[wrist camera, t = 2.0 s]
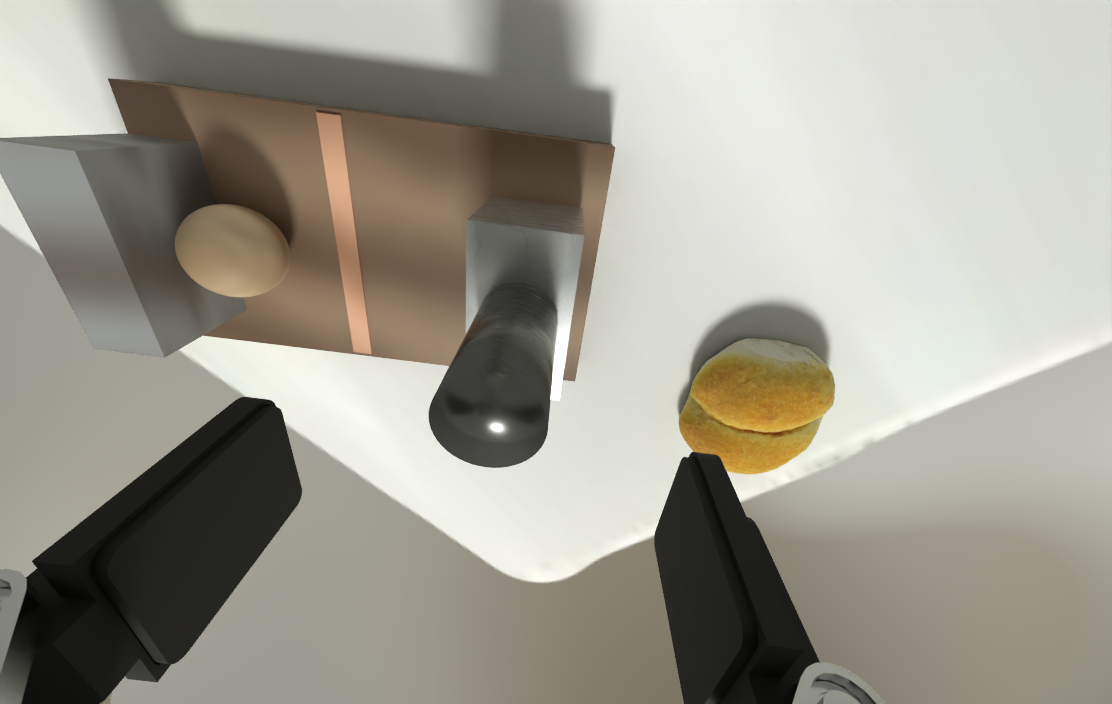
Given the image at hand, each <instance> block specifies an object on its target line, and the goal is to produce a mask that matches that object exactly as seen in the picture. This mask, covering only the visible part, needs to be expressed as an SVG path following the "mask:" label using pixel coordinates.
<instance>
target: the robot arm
mask: <svg viewBox="0 0 1112 704" xmlns="http://www.w3.org/2000/svg"><path fill="white" fill-rule="evenodd" d="M301 495H302V488H301V484H300V480H299V476H298V472H297V469H296V465H295V461H294V457H293V453H292V449H291V446H290V442H289V438H288V434H287V430H286V426H285V422H284V419H283V415H282V412H281V410H280V409H279V408H277V407H276V405H275V403H274V402H273V401H271V400H266V399H258V398H250V397H241V398H239V399H237V400H235V401H234V402H233V403H232V404H230V405H229V406H228V407H227V408H225V409H224V410H223V411H222V412H220V413H219V414H218V415H216V416H215V417H214V418H213V419H211V420H210V421H209V422H208V423H206V424H205V425H204V426H203V427H201V428H200V429H199V430H198V431H196V432H195V433H194V434H192V435H191V436H190V437H189V438H187V439H186V440H185V441H183V442H182V443H181V444H180V445H179V446H177V447H176V448H175V449H173V450H172V451H171V452H170V453H168V454H167V455H166V456H164V457H163V458H162V459H161V460H159V461H158V462H157V463H156V464H155V465H153V466H152V467H151V468H149V469H148V470H147V471H145V472H144V473H143V474H142V475H140V476H139V477H138V478H137V479H135V480H134V481H133V482H132V483H130V484H129V485H128V486H127V487H125V488H124V489H123V490H121V491H120V492H119V493H118V494H116V495H115V496H114V497H112V498H111V499H110V500H109V501H107V502H106V503H105V504H104V505H102V506H101V507H100V508H99V509H97V510H96V511H95V512H94V513H92V514H91V515H90V516H88V517H87V518H86V519H85V520H83V521H82V522H81V523H80V524H78V525H77V526H76V527H75V528H74V529H72V530H71V531H69V532H68V533H67V534H66V535H65V536H63V537H62V538H61V539H59V540H58V541H57V542H55V543H54V544H53V545H52V546H51V547H49V548H48V549H47V550H45V551H44V552H43V553H42V554H40V555H39V556H38V557H36V558H35V559H34V560H33V561H32V562H33V563H34V565H35V566H36V567H37V569H36V570H35V571H34V572H33V573H31V574H30V575H29V576H28V577H24V575H23V574H21V572H18V571H14V570H9V569H4V570H0V704H110V702H111V694H112V691H113V690H114V689H115V687H116V686H117V685H118V684H119V682H120V681H121V680H122V679H123V678H124V676H126V678H127V679H133V680H143V681H151V682H158V681H159V679H160V678H161V677H162V676H163V674H164V673H165V672H166V670H167V669H168V668H169V666H170V665H171V664H174V663H176V662H178V661H179V660H180V659H182V658H183V657H184V656H185V655H186V653H187V652H188V651H189V650H190V648H191V647H192V646H193V644H194V643H195V642H196V640H197V639H198V637H199V636H200V635H201V634H202V632H203V631H204V630H205V628H206V627H207V625H208V624H209V623H210V622H211V620H212V619H213V618H214V616H215V615H216V613H217V612H218V611H219V610H220V608H221V607H222V606H223V604H224V603H225V601H226V600H227V599H228V597H229V596H230V594H231V593H232V592H233V591H234V589H235V588H236V587H237V585H238V584H239V583H240V581H241V580H242V579H243V577H244V576H245V575H246V573H247V572H248V571H249V569H250V568H251V567H252V565H253V564H254V563H255V561H256V560H257V559H258V557H259V556H260V555H261V553H262V552H263V551H264V549H265V548H266V547H267V545H268V544H269V543H270V541H271V540H272V539H273V537H274V536H275V535H276V533H277V532H278V531H279V529H280V528H281V526H282V525H283V524H284V522H285V521H286V520H287V518H288V517H289V516H290V514H291V513H292V512H293V510H294V509H295V507H296V506H297V505H298V503H299V501H300V499H301ZM654 540H655V541H654V542H655V543H654V544H655V551H656V556H657V562H658V567H659V572H660V578H661V583H662V588H663V594H664V599H665V604H666V610H667V614H668V620H669V625H670V631H671V636H672V642H673V646H674V652H675V658H676V663H677V668H678V673H679V679H680V684H681V689H682V695H683V700H684V704H885V703H884V701H883V700H882V699H881V698H880V696H879V695H878V694H877V693H876V692H875V691H874V690H873V689H872V688H871V687H870V686H869V685H868V684H866V683H865V682H864V681H863V680H862V679H861V678H860V677H858V676H856V675H855V674H853V673H851V672H850V671H848V670H847V669H845V668H843V667H840V666H837V665H834V664H831V663H820V662H819V660H818V658H817V655H816V653H815V651H814V649H813V646H812V645H811V643H810V640H809V638H808V636H807V633H806V631H805V629H804V627H803V625H802V622H801V620H800V618H799V616H798V614H797V612H796V610H795V607H794V605H793V603H792V601H791V599H790V596H789V594H788V592H787V590H786V588H785V586H784V583H783V581H782V579H781V577H780V574H779V572H778V570H777V568H776V566H775V563H774V562H773V559H772V557H771V555H770V553H769V550H768V548H767V546H766V544H765V542H764V540H763V537H762V535H761V533H760V531H759V529H758V527H757V525H756V524H755V522H754V521H753V520H752V519H751V518H748V517H746V515H745V512H744V510H743V508H742V506H741V503H740V501H739V499H738V497H737V494H736V492H735V490H734V487H733V485H732V483H731V481H730V478H729V476H728V474H727V472H726V469H725V467H724V465H723V463H722V460H721V458H720V457H719V456H718V455H715V454H707V453H699V452H692V453H691V454H690V455H689V457H683V458H682V460H681V462H680V465H679V467H678V470H677V473H676V476H675V478H674V481H673V484H672V487H671V490H670V492H669V495H668V498H667V501H666V503H665V506H664V509H663V512H662V514H661V517H660V520H659V523H658V526H657V528H656V531H655V538H654Z"/></svg>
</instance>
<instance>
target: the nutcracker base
mask: <svg viewBox="0 0 1112 704" xmlns="http://www.w3.org/2000/svg"><path fill="white" fill-rule="evenodd" d="M108 80H109V83H110V85H111V88H112V91H113V94H114V96H115V99H116V102H117V104H118V107H119V110H120V113H121V115H122V118H123V121H124V123H125V126H126V129H127V132H128V134H101V135H73V136H45V137H17V138H0V174H1V176H2V178H3V180H4V181H5V183H6V185H7V187H8V189H9V191H10V193H11V195H12V196H13V198H14V200H15V202H16V204H17V206H18V208H19V210H20V211H21V213H22V215H23V217H24V219H25V221H26V223H27V225H28V226H29V228H30V230H31V232H32V234H33V236H34V238H35V240H36V241H37V243H38V245H39V247H40V249H41V251H42V253H43V255H44V256H45V258H46V260H47V262H48V264H49V266H50V268H51V270H52V271H53V273H54V275H55V277H56V279H57V281H58V282H59V284H60V286H61V288H62V290H63V292H64V294H65V296H66V298H67V300H68V301H69V303H70V305H71V307H72V309H73V311H74V313H75V315H76V317H77V318H78V320H79V322H80V324H81V326H82V328H83V330H84V331H85V333H86V335H87V337H88V339H89V341H90V343H91V345H92V347H93V348H94V349H99V350H107V351H116V352H124V353H132V354H140V355H148V356H156V357H166V356H168V355H170V354H172V353H173V352H175V351H177V350H178V349H180V348H182V347H184V346H185V345H187V344H189V343H191V342H192V341H194V340H196V339H197V338H199V337H201V336H203V335H204V336H212V337H220V338H228V339H236V340H244V341H252V342H260V343H268V344H277V345H285V346H293V347H301V348H309V349H317V350H325V351H333V352H341V353H349V354H358V355H366V356H374V357H382V358H390V359H398V360H406V361H414V362H422V363H430V364H439V365H447V366H450V365H451V363H452V361H453V359H454V357H455V355H456V353H457V351H458V349H459V347H460V345H461V343H462V341H463V339H464V337H465V335H466V220H467V219H468V218H469V217H470V216H471V215H472V214H473V213H474V212H475V211H477V210H478V209H479V208H480V207H481V206H482V205H483V204H484V203H485V202H486V201H487V200H488V199H490V198H491V197H492V196H496V197H504V198H511V199H519V200H526V201H534V202H541V203H549V204H557V205H564V206H572V207H579V208H583V221H584V242H583V248H582V255H581V261H580V268H579V274H578V281H577V288H576V294H575V301H574V307H573V314H572V320H571V327H570V334H569V340H568V347H567V353H566V360H565V366H564V373H563V380H568V381H575V378H576V372H577V366H578V360H579V355H580V349H581V343H582V337H583V331H584V325H585V320H586V314H587V308H588V302H589V296H590V291H591V285H592V279H593V273H594V267H595V261H596V256H597V250H598V244H599V238H600V232H601V226H602V221H603V215H604V209H605V203H606V197H607V191H608V186H609V180H610V174H611V168H612V162H613V156H614V151H615V147H614V146H613V145H612V144H605V143H598V142H590V141H583V140H575V139H568V138H561V137H553V136H546V135H539V134H531V133H524V132H516V131H509V130H502V129H494V128H487V127H480V126H472V125H465V124H457V123H450V122H443V121H435V120H428V119H421V118H413V117H406V116H398V115H391V114H384V113H376V112H369V111H362V110H354V109H347V108H339V107H332V106H325V105H317V104H310V103H303V102H295V101H288V100H280V99H273V98H266V97H258V96H251V95H244V94H236V93H229V92H222V91H214V90H207V89H199V88H192V87H185V86H177V85H170V84H163V83H155V82H145V81H133V80H121V79H109V78H108Z"/></svg>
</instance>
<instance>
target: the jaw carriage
mask: <svg viewBox="0 0 1112 704" xmlns="http://www.w3.org/2000/svg"><path fill="white" fill-rule="evenodd" d="M583 242H584V221H583V208H579V207H572V206H564V205H557V204H549V203H541V202H534V201H526V200H519V199H511V198H504V197H496V196H492V197H491V198H490V199H488V200H487V201H486V202H485V203H484V204H483V205H482V206H481V207H480V208H479V209H478V210H477V211H475V212H474V213H473V214H472V215H471V216H470V217H469V218H468V219H467V220H466V335H465V337H464V339H463V341H462V343H461V345H460V347H459V349H458V351H457V353H456V355H455V357H454V359H453V361H452V363H451V365H450V366H449V368H448V370H447V372H446V374H445V376H444V378H443V380H442V382H441V384H440V386H439V388H438V390H437V392H436V394H435V396H434V398H433V400H432V402H431V405H430V409H429V423H430V426H431V430H432V432H433V434H434V436H435V437H436V439H437V440H438V442H439V443H440V444H441V445H442V446H443V447H444V448H445V449H446V450H447V451H448V452H450V453H451V454H452V455H454V456H456V457H457V458H459V459H461V460H463V461H465V462H468V463H471V464H474V465H478V466H483V467H492V468H498V467H508V466H512V465H516V464H519V463H522V462H524V461H526V460H528V459H529V458H531V457H532V456H533V455H534V454H536V453H537V452H538V450H539V449H540V448H541V447H542V445H543V443H544V441H545V439H546V436H547V431H548V420H549V410H550V400H558V401H559V399H560V393H561V386H562V380H563V373H564V366H565V360H566V353H567V347H568V340H569V334H570V327H571V320H572V314H573V307H574V301H575V294H576V288H577V281H578V274H579V268H580V261H581V255H582V248H583Z"/></svg>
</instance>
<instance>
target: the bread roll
mask: <svg viewBox="0 0 1112 704" xmlns="http://www.w3.org/2000/svg"><path fill="white" fill-rule="evenodd" d="M834 393H835V384H834V378H833V375H832V372H831V371H830V369H829V368H828V366H827V364H826V363H825V362H824V361H823V360H821V359H820V358H819V357H818V356H817V355H816V354H815V353H813V352H812V351H811V350H810V349H809V348H806V347H804V346H800V345H797V344H791V343H787V342H784V341H780V340H773V339H756V338H750V339H742V340H739V341H737V342H735V343H733V344H731V345H729V346H728V347H726V348H725V349H724V350H722V351H721V352H719V353H718V354H716V355H715V356H713V357H712V358H710V359H709V360H708V361H706V362H705V363H704V365H703V366H702V367H701V369H700V370H699V372H698V373H697V375H696V377H695V378H694V380H693V383H692V386H691V390H690V393H689V396H688V399H687V401H686V403H685V405H684V407H683V409H682V411H681V414H680V418H679V428H680V432H681V434H682V436H683V438H684V440H685V441H686V442H687V444H688V445H689V447H690V448H691V449H692V450H693V451H694V452H699V453H707V454H715V455H718V456H719V457H720V458H721V460H722V463H723V465H724V467H725V469H726V471H729V472H734V473H740V474H758V473H764V472H768V471H771V470H773V469H776V468H778V467H780V466H782V465H784V464H785V463H787V462H788V461H790V460H791V459H793V458H795V457H796V456H798V455H799V454H800V453H802V452H803V451H805V450H806V449H807V447H808V446H809V444H810V443H811V442H812V440H813V438H814V436H815V435H816V432H817V430H818V428H819V425H820V422H821V420H822V417H823V415H824V414H825V413H826V412H827V411H828V410H829V409H830V407H831V406H832V405H833V402H834Z"/></svg>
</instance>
